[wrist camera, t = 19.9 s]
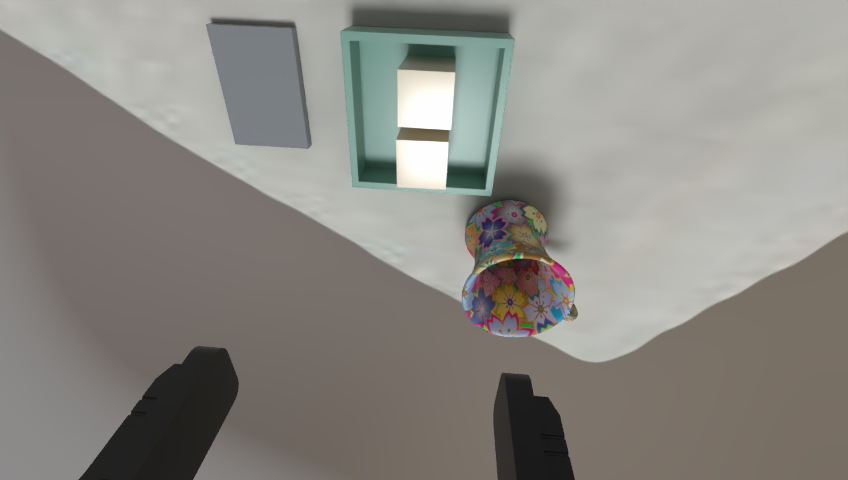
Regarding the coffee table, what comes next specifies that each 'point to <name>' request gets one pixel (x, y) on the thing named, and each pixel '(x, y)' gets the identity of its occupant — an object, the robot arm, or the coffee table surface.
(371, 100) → the green bin
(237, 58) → the slate board
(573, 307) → the floral patterned vase
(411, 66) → the block
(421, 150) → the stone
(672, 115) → the coffee table surface
